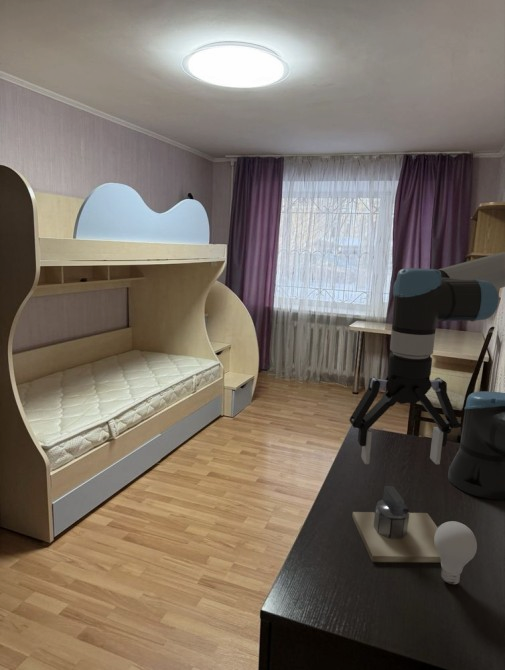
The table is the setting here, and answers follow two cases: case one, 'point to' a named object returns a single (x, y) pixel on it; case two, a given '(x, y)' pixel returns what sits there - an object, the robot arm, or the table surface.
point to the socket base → (406, 549)
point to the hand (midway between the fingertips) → (400, 461)
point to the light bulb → (454, 549)
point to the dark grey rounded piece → (391, 515)
